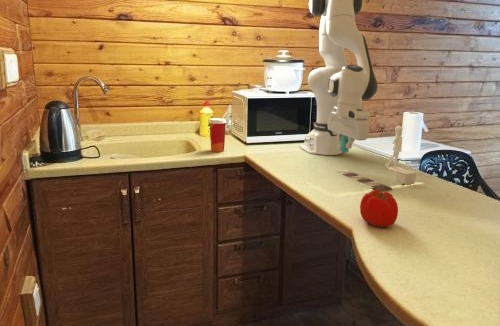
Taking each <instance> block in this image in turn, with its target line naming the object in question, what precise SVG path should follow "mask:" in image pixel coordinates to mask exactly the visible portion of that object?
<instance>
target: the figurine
mask: <svg viewBox="0 0 500 326" xmlns="http://www.w3.org/2000/svg"><path fill="white" fill-rule="evenodd" d="M394 130H395V135H394V139H393V142H392V144H393V148H392V150H393V152H392V153H393V154H392V155H391V156H390V158H389V160H388V163H385V166H386V167H385V168H386V169H389V170H391V171H394V172H397V171H400V170H405V169H404V168H402V167H399V166H397V165H398V157H399V155H400V153H401V152H402V151H403V150H402V149H403V148H402V145H403V137H402V133H403V130H404V128H403V126H402V125H396V126H395V128H394ZM392 160H394V167H393V166H390V167H389V165H390V164H391V162H392Z"/></svg>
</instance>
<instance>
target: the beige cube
mask: <svg viewBox="0 0 500 326" xmlns="http://www.w3.org/2000/svg"><path fill="white" fill-rule="evenodd" d="M395 176H396V177H395V181H397V182H400V183H401V184H402V186H404V185H407V186H412V185H411V184H413V185H414V184H415V179H416V172H414V171H411V170H408V169H404V170H400V171H396V175H395Z"/></svg>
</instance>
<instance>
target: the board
mask: <svg viewBox="0 0 500 326" xmlns="http://www.w3.org/2000/svg"><path fill="white" fill-rule="evenodd" d="M335 173H337V174H340V175H342V176H345V177H348V178H349V179H352V180H355V181H357V182H358V183H362V184H365V185H366V186H369V187H371V191H373V190H378V191H381V192H388V191H392V190H393V188H392V187H391V186H388V185H386V184H383V183H381V182H379V181H376V180H374V179H371V178H368V177H365V176H363V175H360V174H358V173H356V172H352V171H350V170H347V169H346V170H337V171H335Z"/></svg>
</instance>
